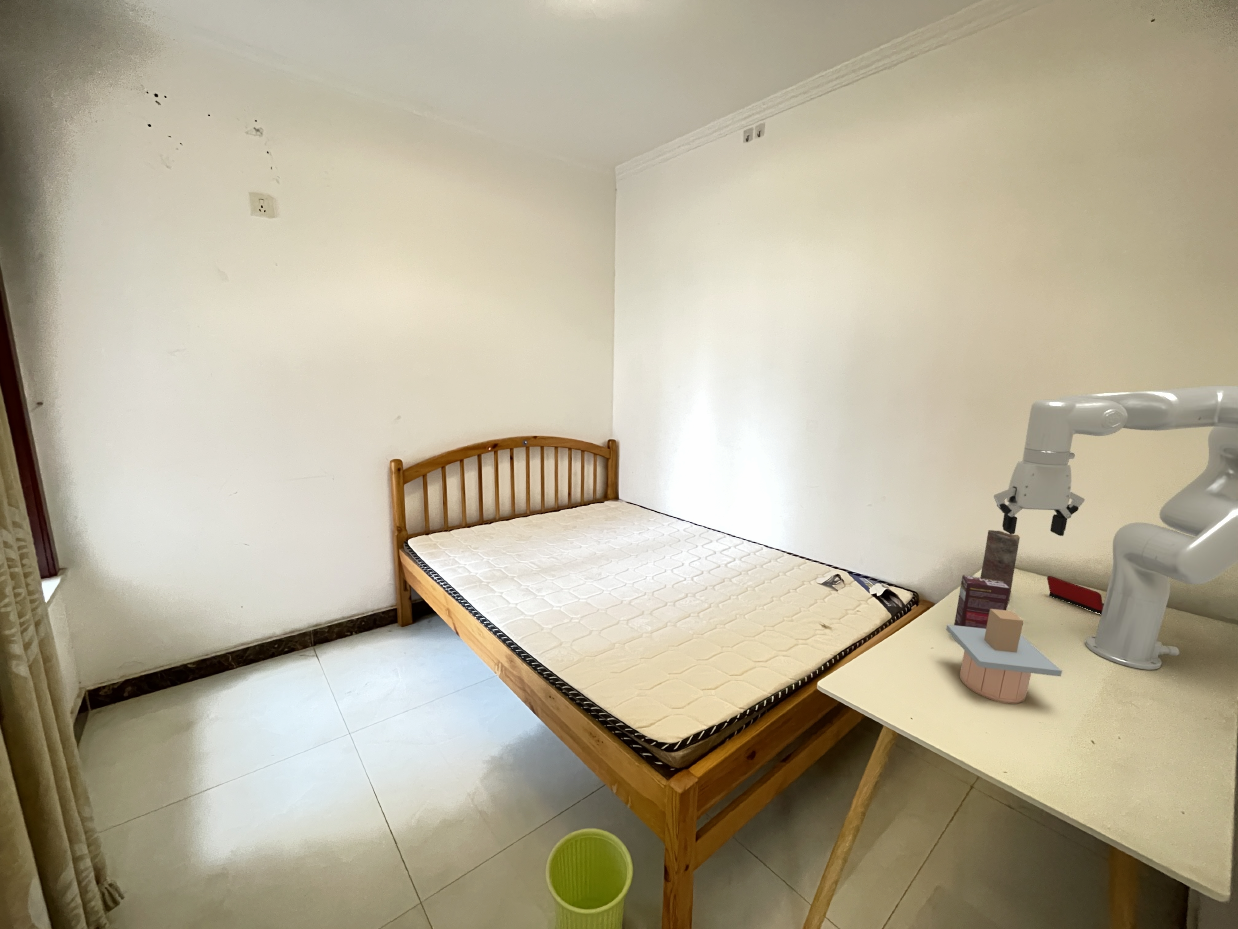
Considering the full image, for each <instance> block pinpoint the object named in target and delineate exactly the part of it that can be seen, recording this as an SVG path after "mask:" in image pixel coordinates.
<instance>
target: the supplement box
mask: <svg viewBox="0 0 1238 929" xmlns="http://www.w3.org/2000/svg"><path fill="white" fill-rule="evenodd" d="M961 576H962V578H961V583H960V588H959V595H958V600H957V606H956V612H955V616H954V618H955V619H954V623H953V625H955V626H965V627H974V628H984V629H986V627H987V622H988V617H989V612H990V609H997V610H1007V611H1008V604H1009V601H1008V599H1009V594H1010V587H1009V586H1008V585H1007V584H1006V583H1005V582H1004V581H1002V580H995V579H987V578H980V577H981V576H980V577H979V576H972V575H965V574H963V575H961ZM1010 595H1011V594H1010Z"/></svg>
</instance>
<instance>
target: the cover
mask: <svg viewBox="0 0 1238 929" xmlns="http://www.w3.org/2000/svg"><path fill="white" fill-rule="evenodd" d="M1023 625H1024V619H1022V618H1021V617H1020V616H1018V614H1016V613H1015V612H1014V611H1012V610H1008V609H1007V610H997V609H990V612H989V617H988V622H987V627H986V629H984V628H974V627H965V626H955V625H954V624H946V629H945V630H946V631H947V632H948V633H949V635H950V636H951V637H952V638H953V639H954V640H955V641H956V643H957V644H958V645H959V646H960V647H961V648H962V649H963V651H964V650H965V652H966V653H967V654H968V655H969V656H970V657H971V658H972V660H973V661H974V662H975V663H976V664H977V665H978V666H979V667H984V668H992V669H1001V670H1009V671H1018V672H1026V673H1031V674H1037V675H1045V676H1052V677H1062V672H1063V670H1062V669H1060V668H1059V666H1057V665H1056V664H1055V663H1054V662H1053V661H1052V660H1050V659H1049V658H1048V657H1047V656H1046V655H1044V654H1043V652H1041V651H1040V650H1039V649H1038V648H1037V647H1036V646H1034V645H1033V644H1032V643H1031V642H1030V641H1029V640H1027V638H1026V637H1024V636H1023V635H1022V630H1023Z"/></svg>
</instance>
